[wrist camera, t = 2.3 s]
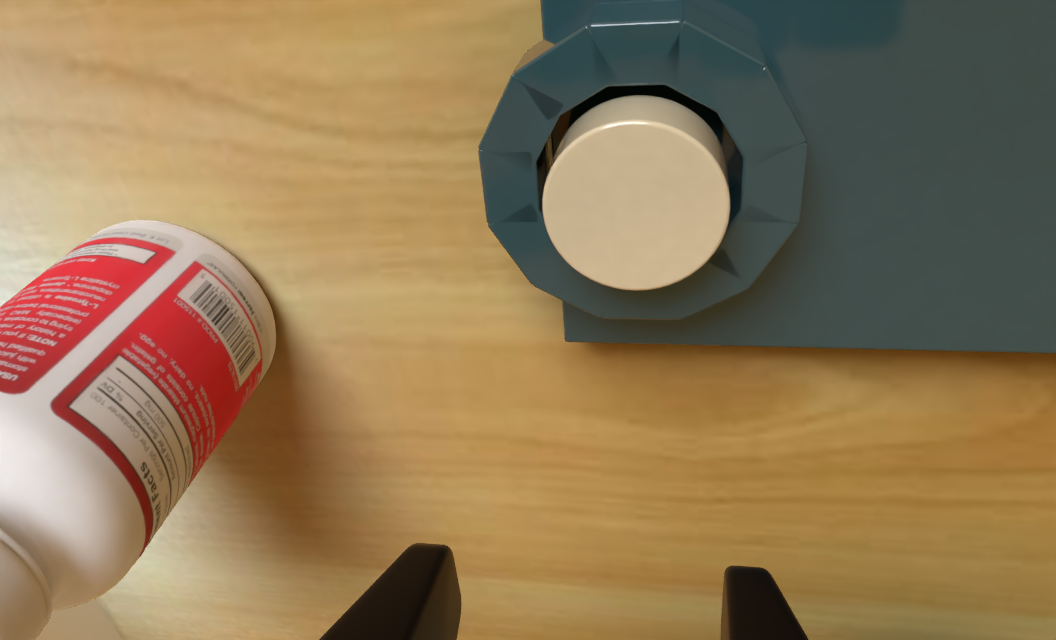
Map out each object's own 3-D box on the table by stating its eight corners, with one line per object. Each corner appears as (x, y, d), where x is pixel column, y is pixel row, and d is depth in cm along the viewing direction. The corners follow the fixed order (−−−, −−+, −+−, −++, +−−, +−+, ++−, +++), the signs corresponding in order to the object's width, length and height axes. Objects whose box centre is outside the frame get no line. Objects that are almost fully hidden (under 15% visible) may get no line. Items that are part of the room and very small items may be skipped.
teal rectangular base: (525, 313, 23) (505, 378, 20) (484, -94, 17) (449, -72, 15) (1248, 325, 20) (1329, 405, 17) (1472, -167, 14) (1637, -154, 12)
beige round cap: (558, 255, 19) (548, 291, 17) (546, 96, 17) (533, 123, 15) (724, 256, 18) (726, 293, 17) (732, 90, 16) (735, 118, 15)
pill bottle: (62, 321, 26) (-285, 624, 17) (111, 170, 22) (-289, 445, 13) (243, 421, 27) (10, 758, 18) (316, 291, 23) (76, 622, 14)
